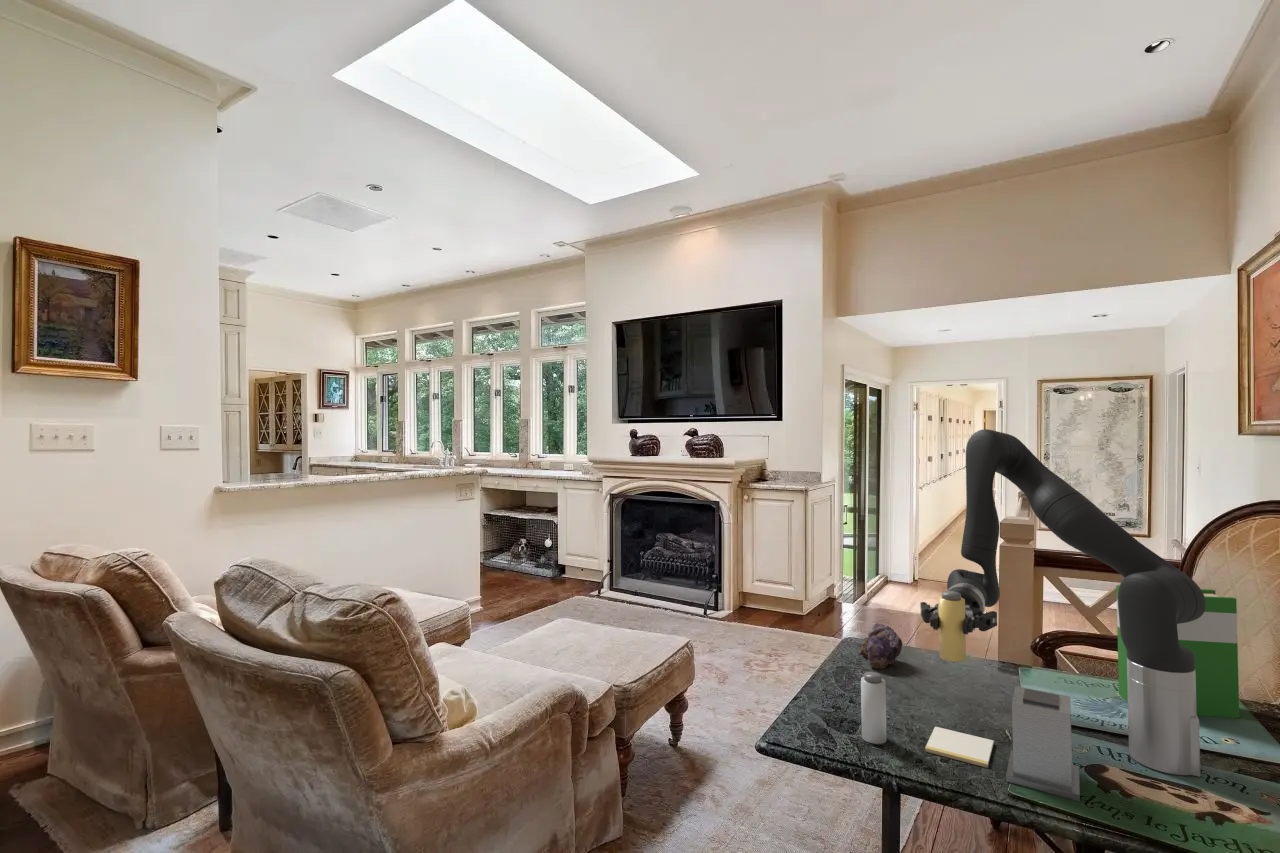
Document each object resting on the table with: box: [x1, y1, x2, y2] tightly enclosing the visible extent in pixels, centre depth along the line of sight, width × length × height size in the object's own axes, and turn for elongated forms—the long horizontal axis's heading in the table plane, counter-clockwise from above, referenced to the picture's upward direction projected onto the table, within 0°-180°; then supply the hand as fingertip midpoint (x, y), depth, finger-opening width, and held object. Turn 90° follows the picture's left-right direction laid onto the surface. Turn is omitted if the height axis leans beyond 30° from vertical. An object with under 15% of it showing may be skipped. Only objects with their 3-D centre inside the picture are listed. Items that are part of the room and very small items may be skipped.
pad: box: [924, 726, 995, 769], centre depth 114 cm, size 10×10×1 cm
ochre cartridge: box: [937, 590, 967, 663], centre depth 115 cm, size 4×4×12 cm
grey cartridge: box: [860, 671, 887, 745], centre depth 118 cm, size 4×4×12 cm
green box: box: [1116, 584, 1240, 719], centre depth 130 cm, size 18×7×24 cm, turn 75°
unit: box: [1005, 685, 1081, 802], centre depth 104 cm, size 10×10×13 cm
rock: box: [859, 622, 903, 670], centre depth 156 cm, size 12×9×10 cm
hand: (950, 626), depth 112 cm, fingers closed on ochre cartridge, 4 cm apart
